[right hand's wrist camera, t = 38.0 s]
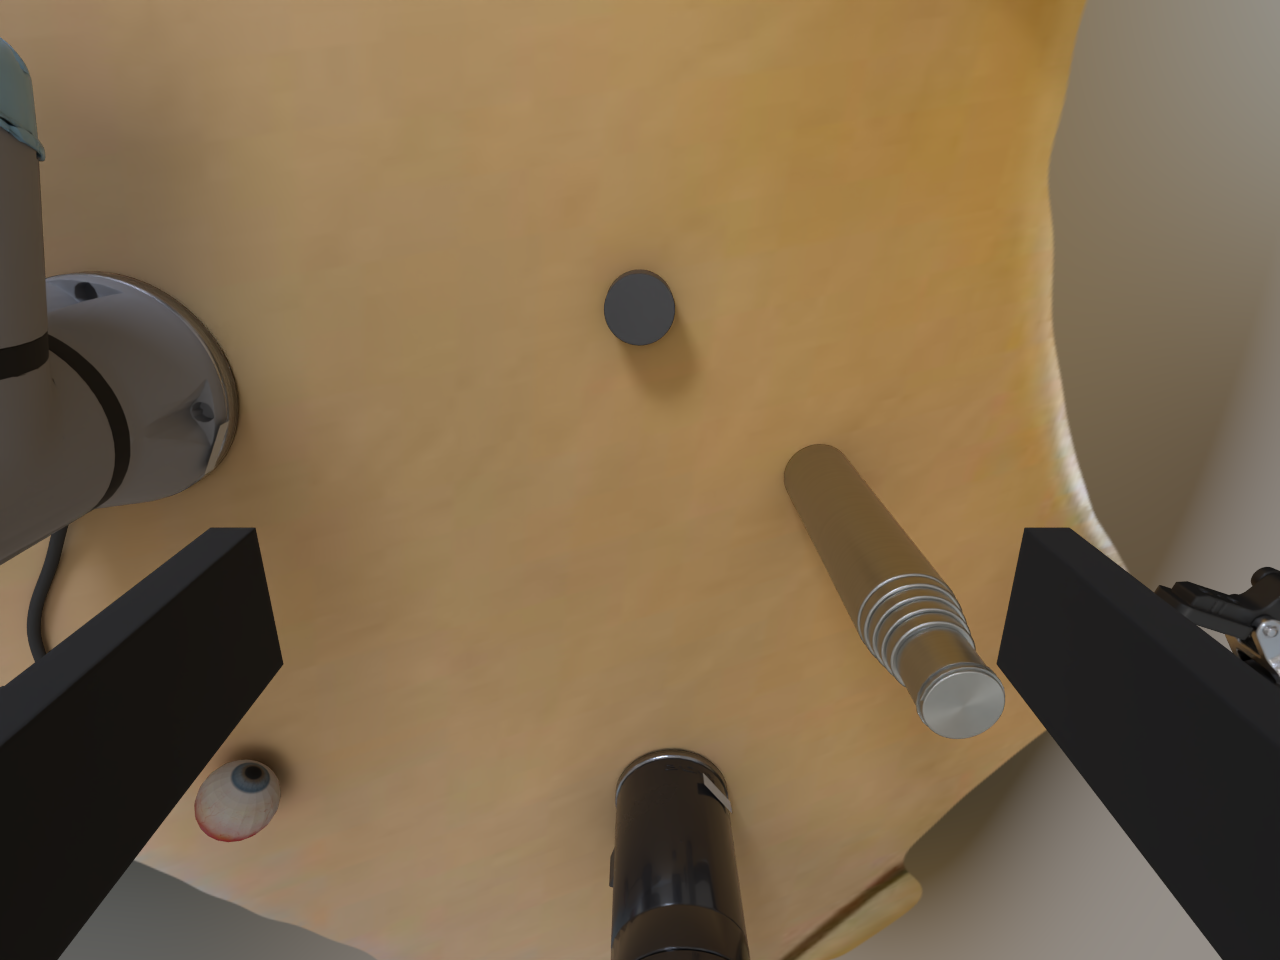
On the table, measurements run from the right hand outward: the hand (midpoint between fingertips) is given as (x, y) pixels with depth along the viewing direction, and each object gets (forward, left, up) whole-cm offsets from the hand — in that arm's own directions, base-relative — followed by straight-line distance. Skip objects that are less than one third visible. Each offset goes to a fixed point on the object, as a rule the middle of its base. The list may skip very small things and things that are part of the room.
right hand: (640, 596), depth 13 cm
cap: (0, 0, -38) cm, 38 cm away
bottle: (+3, -17, -38) cm, 41 cm away
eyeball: (-48, -12, -38) cm, 62 cm away
